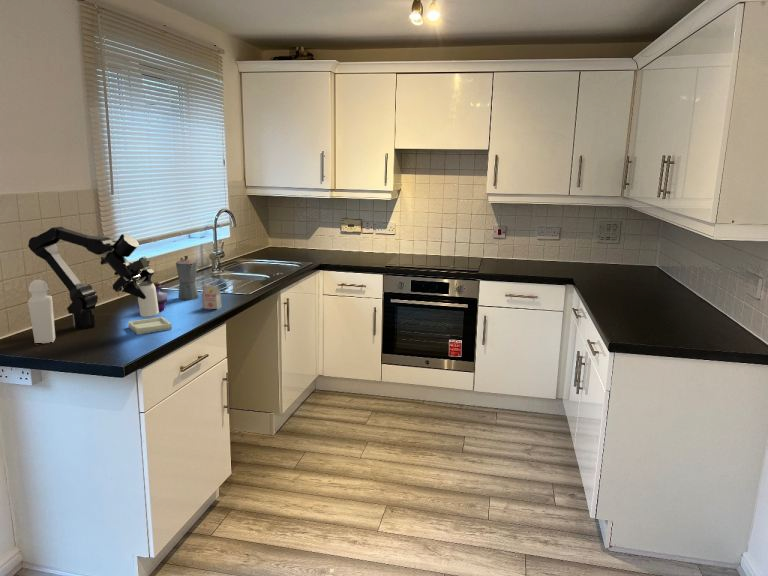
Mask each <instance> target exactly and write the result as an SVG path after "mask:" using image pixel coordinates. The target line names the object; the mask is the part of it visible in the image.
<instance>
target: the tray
mask: <svg viewBox="0 0 768 576" xmlns="http://www.w3.org/2000/svg"><path fill="white" fill-rule="evenodd" d="M128 328H129V329H130V330H131V331H132V332H133V333H134V334H135V333H136V334H137V335H136V334H135V335H136V336H139V335H138V334H140V335H146V334H151V333H150V332H153V333H157V332H156V331H159V332H163V331H162V330H165V331H170V330H169V329H171V330H172V328H173V327H172V323H171V322H170V321H168V319H166V318H164V317H163V316H159V317H149V318H144V319H137V320H131V321H130V320H129V321H128ZM145 333H146V334H145Z"/></svg>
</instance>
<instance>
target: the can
mask: <svg viewBox="0 0 768 576" xmlns="http://www.w3.org/2000/svg"><path fill="white" fill-rule="evenodd" d="M153 283H155V282H154V281H152V280H151V281H145V282H140V283H138V282H137V286H138V287H139V289H140V290H141V291H142V292H143V294H144V295H145V296H146V298H145V299H142V298H139V297H137V301H138V309H139V314H140V316H141V317H143V318H152V317H154V316H157V315H158V314H159V309H158V302H157V294H156V288H155V285H154V284H153Z"/></svg>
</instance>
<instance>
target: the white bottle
mask: <svg viewBox="0 0 768 576" xmlns="http://www.w3.org/2000/svg"><path fill="white" fill-rule="evenodd" d="M49 290H50V288H49V286H48V284H47V282H46V281H45V280H43V279H34V280H32V281H31V282H30V284H29V287H28V291H29V293H30V295H31V297H30V298H29V300H28V301H27V306H28V311H29V317H30V324H31V328H32V329H31V330H32V333H33V334H32V335H33V339H34V344H35V343H42V344H51V343H50V342H52V343H54V342H55V340H56V330H55V328H56V327H55V318H54V317H55V315H54V306H53V304H54V303H53V296H52V295H48V291H49Z"/></svg>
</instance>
